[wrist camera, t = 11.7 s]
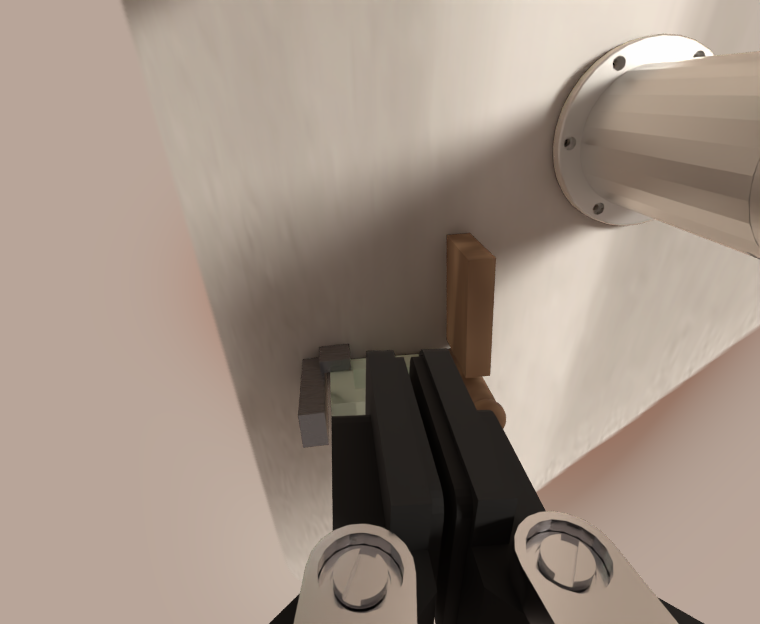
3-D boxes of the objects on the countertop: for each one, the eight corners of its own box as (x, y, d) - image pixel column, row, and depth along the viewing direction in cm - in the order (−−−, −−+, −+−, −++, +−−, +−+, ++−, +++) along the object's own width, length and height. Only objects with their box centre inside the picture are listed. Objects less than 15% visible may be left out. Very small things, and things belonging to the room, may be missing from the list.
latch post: (348, 343, 39) (353, 397, 32) (352, 382, 40) (358, 441, 33) (301, 348, 38) (296, 403, 31) (307, 387, 40) (303, 447, 33)
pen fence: (475, 232, 36) (523, 277, 27) (471, 368, 41) (510, 442, 32) (441, 235, 35) (479, 281, 27) (441, 371, 41) (473, 446, 32)
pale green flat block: (437, 352, 39) (455, 393, 34) (437, 372, 40) (454, 415, 35) (329, 361, 38) (330, 404, 33) (331, 381, 39) (332, 426, 34)
